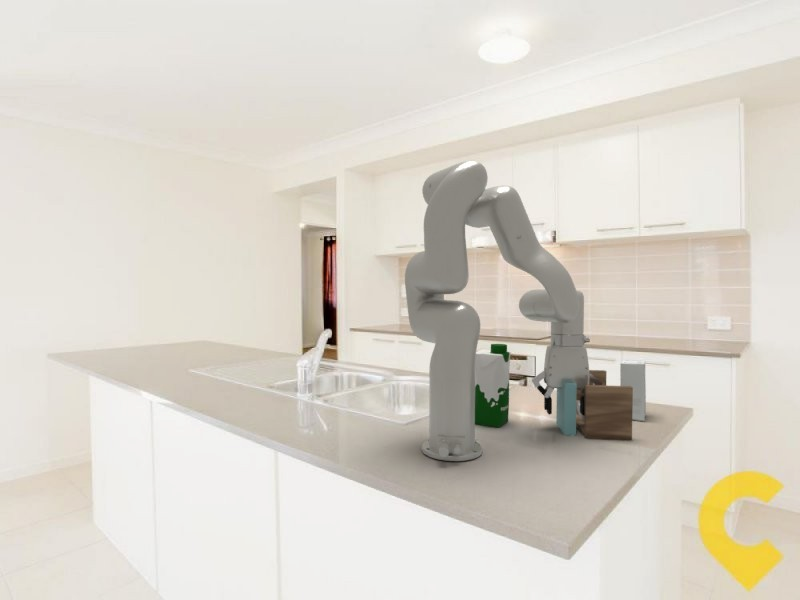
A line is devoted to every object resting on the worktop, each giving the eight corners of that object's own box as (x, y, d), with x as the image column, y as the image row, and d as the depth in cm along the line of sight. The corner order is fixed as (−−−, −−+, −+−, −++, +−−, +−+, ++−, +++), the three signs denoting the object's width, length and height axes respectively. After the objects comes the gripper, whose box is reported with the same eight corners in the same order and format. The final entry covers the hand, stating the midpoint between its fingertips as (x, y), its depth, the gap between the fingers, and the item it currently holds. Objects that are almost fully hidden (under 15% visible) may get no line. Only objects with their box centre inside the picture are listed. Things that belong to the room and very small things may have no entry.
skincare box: (644, 422, 123) (646, 364, 122) (619, 418, 126) (620, 362, 125) (645, 414, 130) (646, 359, 130) (621, 411, 133) (622, 358, 132)
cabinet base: (631, 440, 108) (632, 387, 108) (585, 438, 109) (586, 386, 109) (604, 414, 130) (604, 370, 129) (565, 413, 131) (566, 369, 131)
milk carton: (501, 429, 116) (502, 347, 115) (466, 423, 121) (467, 344, 120) (512, 420, 124) (513, 343, 123) (479, 415, 128) (480, 341, 128)
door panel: (575, 435, 112) (576, 384, 111) (564, 435, 112) (564, 384, 112) (567, 423, 121) (567, 376, 121) (556, 422, 122) (556, 376, 121)
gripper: (600, 340, 119) (599, 411, 119) (528, 338, 121) (527, 408, 121) (609, 343, 111) (607, 419, 112) (532, 342, 114) (531, 416, 114)
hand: (565, 413), depth 117 cm, fingers open, 7 cm apart
